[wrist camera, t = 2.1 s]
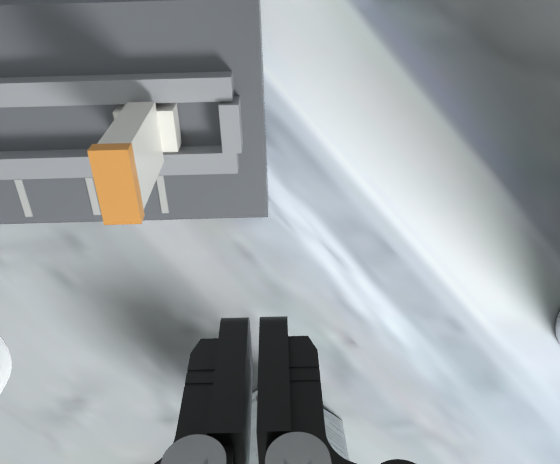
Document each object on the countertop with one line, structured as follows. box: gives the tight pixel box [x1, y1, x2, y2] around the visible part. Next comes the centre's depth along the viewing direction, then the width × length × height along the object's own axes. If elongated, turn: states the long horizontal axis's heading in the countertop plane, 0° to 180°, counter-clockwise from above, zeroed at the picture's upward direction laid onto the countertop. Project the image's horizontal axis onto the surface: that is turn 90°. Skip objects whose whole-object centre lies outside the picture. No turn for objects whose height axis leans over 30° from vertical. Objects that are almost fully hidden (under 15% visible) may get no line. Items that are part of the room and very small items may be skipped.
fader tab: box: [87, 102, 182, 225], centre depth 25 cm, size 3×3×8 cm
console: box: [0, 0, 268, 224], centre depth 29 cm, size 24×12×3 cm, turn 91°
